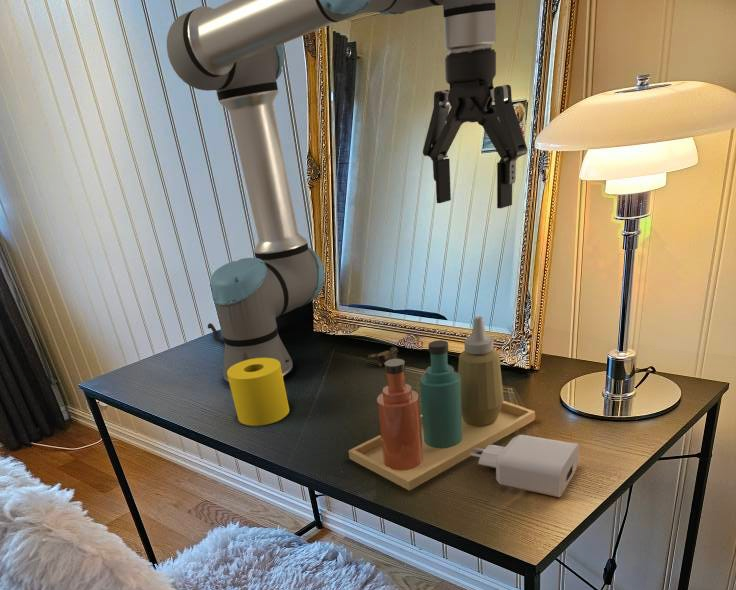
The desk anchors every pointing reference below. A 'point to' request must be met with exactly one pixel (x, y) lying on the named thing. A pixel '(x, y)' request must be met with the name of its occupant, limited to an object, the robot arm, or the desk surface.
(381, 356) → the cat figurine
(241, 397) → the yellow toilet paper roll
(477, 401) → the squeeze bottle
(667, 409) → the desk surface
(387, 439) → the terracotta bottle
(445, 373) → the teal bottle
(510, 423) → the tray
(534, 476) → the charger
